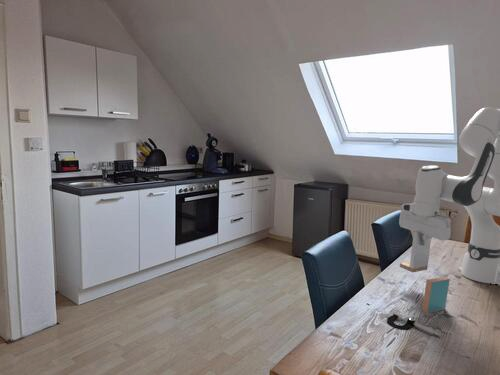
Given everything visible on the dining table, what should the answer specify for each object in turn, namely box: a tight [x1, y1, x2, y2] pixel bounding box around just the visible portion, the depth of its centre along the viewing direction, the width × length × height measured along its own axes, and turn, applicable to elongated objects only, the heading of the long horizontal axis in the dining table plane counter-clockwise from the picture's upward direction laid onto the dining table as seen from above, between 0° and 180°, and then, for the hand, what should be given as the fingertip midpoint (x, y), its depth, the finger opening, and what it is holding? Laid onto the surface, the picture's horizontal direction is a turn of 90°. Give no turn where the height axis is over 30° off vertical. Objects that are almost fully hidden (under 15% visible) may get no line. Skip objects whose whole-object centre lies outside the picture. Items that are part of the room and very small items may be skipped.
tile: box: [422, 276, 451, 314], centre depth 126 cm, size 9×2×11 cm, turn 116°
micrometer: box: [386, 313, 442, 338], centre depth 113 cm, size 15×7×2 cm, turn 43°
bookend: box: [399, 231, 432, 273], centre depth 142 cm, size 8×6×16 cm
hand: (421, 244), depth 140 cm, fingers closed on bookend
